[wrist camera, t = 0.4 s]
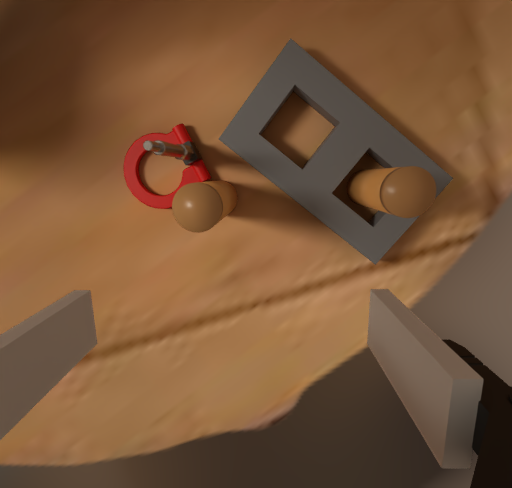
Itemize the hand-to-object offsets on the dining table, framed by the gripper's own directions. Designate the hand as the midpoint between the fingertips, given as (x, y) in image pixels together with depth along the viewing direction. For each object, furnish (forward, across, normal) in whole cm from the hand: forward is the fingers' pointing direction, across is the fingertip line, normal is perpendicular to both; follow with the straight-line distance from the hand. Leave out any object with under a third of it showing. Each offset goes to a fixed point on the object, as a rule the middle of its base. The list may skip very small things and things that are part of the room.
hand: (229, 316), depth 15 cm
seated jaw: (+24, +13, +5) cm, 27 cm away
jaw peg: (+24, -4, +4) cm, 24 cm away
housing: (+24, +9, +8) cm, 27 cm away
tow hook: (+24, -10, +7) cm, 27 cm away
